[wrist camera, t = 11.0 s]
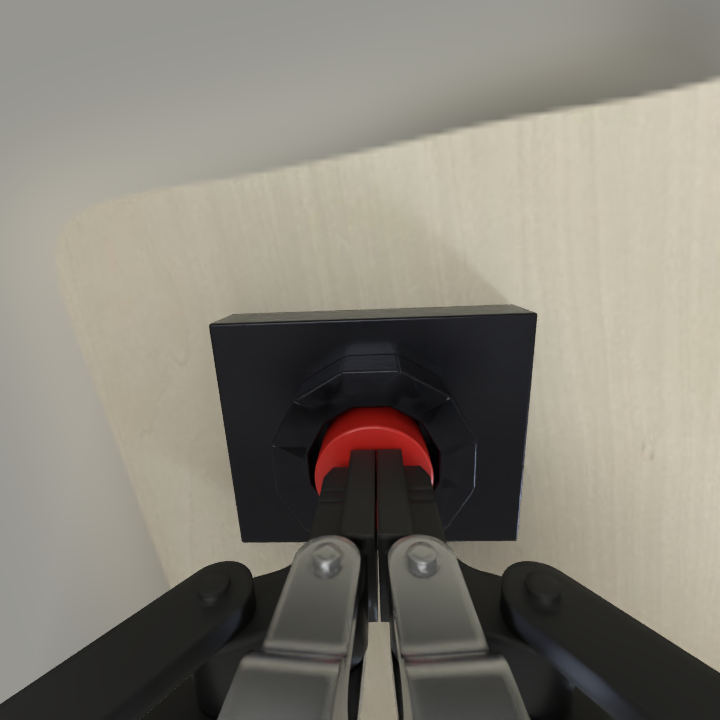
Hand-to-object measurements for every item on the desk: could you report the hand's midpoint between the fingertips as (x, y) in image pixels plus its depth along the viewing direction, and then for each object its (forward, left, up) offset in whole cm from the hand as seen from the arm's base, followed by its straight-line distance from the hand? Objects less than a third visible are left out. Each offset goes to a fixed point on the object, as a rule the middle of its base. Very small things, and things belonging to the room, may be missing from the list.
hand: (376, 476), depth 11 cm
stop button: (0, 0, -2) cm, 2 cm away
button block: (0, 0, -5) cm, 5 cm away
